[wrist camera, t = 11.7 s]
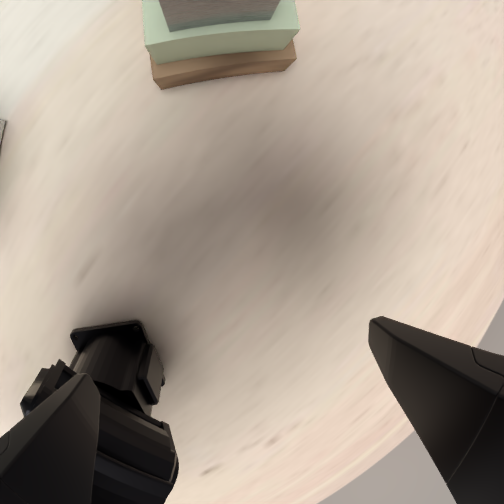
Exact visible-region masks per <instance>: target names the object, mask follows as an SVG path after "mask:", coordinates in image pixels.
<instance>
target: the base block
mask: <svg viewBox="0 0 504 504" xmlns="http://www.w3.org/2000/svg"><path fill="white" fill-rule="evenodd" d="M296 59H297V58H296V53H295V48H294V43H293V39H292V40H291V41H290V42H289V43H288V45H287V46H286V47H285V48H284V50H270V51H253V52H240V53H230V54H221V55H212V56H205V57H198V58H191V59H185V60H179V61H174V62H169V63H163V64H159V65H157V64H156V63H155V61H154V59H153V58H152V56H151V55H150V60H151V68H152V75H153V80H154V81H155V82H156V84H157V85H158V86H159V87H160V88H161V90H162V89H166V88H171V87H175V86H180V85H185V84H190V83H195V82H201V81H206V80H212V79H218V78H225V77H232V76H239V75H247V74H256V73H265V72H276V71H285V70H286V69H287V68H288V67H289V66H290V65H291V64H292V63H293V62H294V61H295V60H296Z"/></svg>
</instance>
